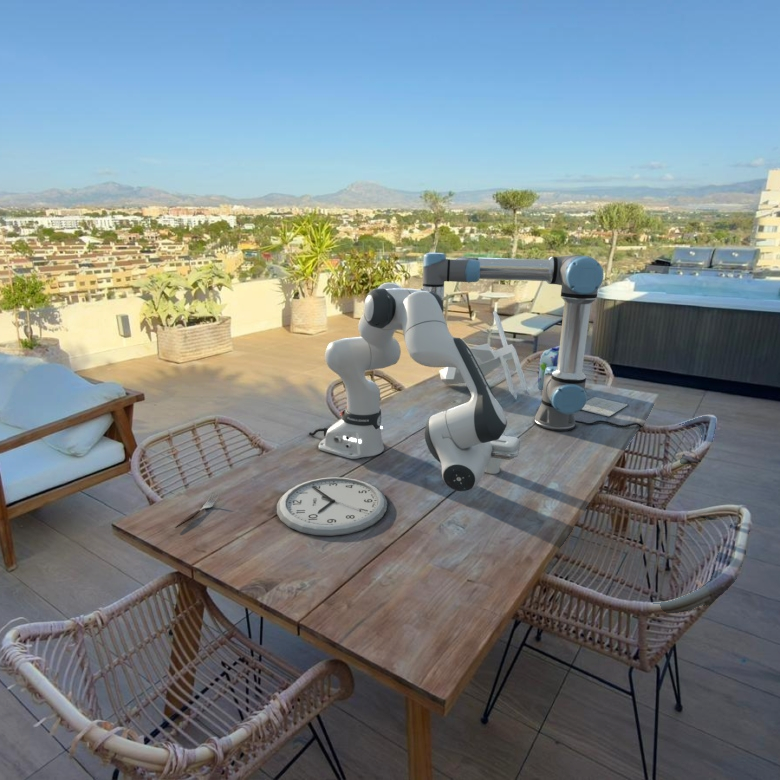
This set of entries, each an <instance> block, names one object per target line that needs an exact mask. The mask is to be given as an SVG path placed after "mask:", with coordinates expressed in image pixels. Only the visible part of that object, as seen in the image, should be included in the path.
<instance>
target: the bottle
mask: <svg viewBox="0 0 780 780" xmlns="http://www.w3.org/2000/svg"><path fill="white" fill-rule="evenodd" d="M501 460H502V459H498V458H491V459H490V461H489V463H488V466H487V467H486V470H485V473H487V474H489V475H491V474H492V475H497V474H498V473H500V471H501Z"/></svg>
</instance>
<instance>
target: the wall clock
mask: <svg viewBox="0 0 780 780" xmlns="http://www.w3.org/2000/svg"><path fill="white" fill-rule="evenodd" d="M387 509H388V500H387V498H386V496H385V494H384V493H383V492H382V491H381V490H380V489H379V488H377V487H376V486H374V485H372V484H371V483H369V482H365V481H362V480H359V479H355V478H349V477H338V476H337V477H335V476H333V477H332V476H331V477H322V478H317V479H312V480H307V481H305V482H302V483H299V484H297V485H295V486H293V487H292V488H290V489H288V490H287V491H286V492H285V493H284V494H283V495H281V496H280V498H279V499H278V502H277V503H276V515H277V517H278V518H279V520H280V521H281V522H282V523H283V524H285V525H286V526H287V527H288V528H290V529H293V530H295V531H297V532H299V533H303V534H308V535H312V536H327V537H328V536H329V537H331V536H332V537H333V536H342V535H350V534H352V533H356V532H361V531H363V530H366V529H368V528H369V527H372V526H373V525H375V524H376V523H378V522H379V521H380V520H381V519H382V518H383V517H384V516H385V514H386V512H387Z"/></svg>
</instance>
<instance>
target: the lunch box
mask: <svg viewBox="0 0 780 780" xmlns="http://www.w3.org/2000/svg"><path fill="white" fill-rule="evenodd" d="M559 346H560V345H558V346H555V347H551V348H549V349H546V350H544V351H543V352H542V353H541V355H540V358H539V365H538V377H537V389H538V390H539V391H543V382H544V373H545V369H546V368H547V367H553V366H557V364H558V355H559Z"/></svg>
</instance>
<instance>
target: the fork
mask: <svg viewBox="0 0 780 780" xmlns="http://www.w3.org/2000/svg"><path fill="white" fill-rule="evenodd" d="M219 496H220V494H218V493H213V492H212V493H211V494H210V497H208V500H207V501H206V502H205V503H204V504H203V505H202V507H201V508H200V509H198V510H196V511H194V512H193V513H191V514H189V515H188V516H187V517H185V518H184V519H183V520H182V521H181V522H179V523H178V524H177V525H175V527H174V528H175V529H177V528H179V527H180V526H182V525H184V524H185V523H187V522H189V521H190V520H192V519H194V517H196V516H197V515H198V514H199V513H201V511H203V510H204V509H210V508H212V507H213V506H214V505H215V504H216V502H217V500H218V498H219Z"/></svg>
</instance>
